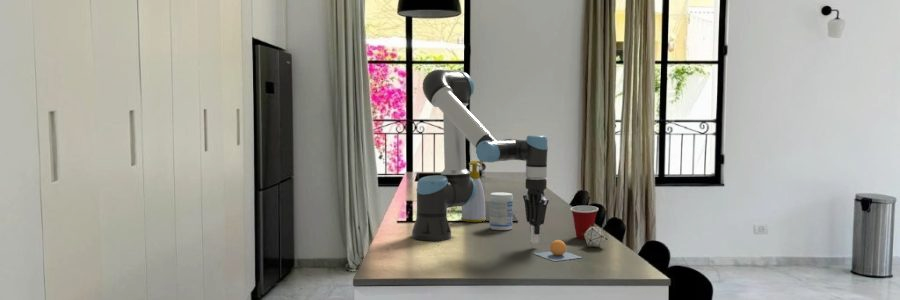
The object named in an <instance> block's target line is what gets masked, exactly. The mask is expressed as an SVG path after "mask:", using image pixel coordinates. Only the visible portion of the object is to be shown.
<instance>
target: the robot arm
mask: <svg viewBox="0 0 900 300" xmlns="http://www.w3.org/2000/svg"><path fill="white" fill-rule="evenodd" d="M474 89H475V85H474V81H473V79H472V78H471V76H470V75H469V74H468V73H467V72H465V71H462V70H461V71H460V70H456V69H455V70H449V69H434V70H431V71H430V72H428V73H427V74H426V75H425V77H424V79H423V80H422V92H423V95H424V97H425V98H426V99H427V101H428V102H429V103H430V104H431V105H432V106H433V107H434V108H437V109H439V110H440V111H441V112H442V113H443V116H442V117H443V121H442V122H443V154H444V155H443V156H444V163H443V164H444V169H443V170H442V171H441V173H440V174H439V175H438V174H437V175H435V174H434V175H427V176H423V177H421V178H419V179H418V181H417V185H416V217H415V218H416V219H415V221H414V224H413V228H412V230H411V238H413V239H414V240H419V241H433V242H434V241H436V242H437V241H445V240H449V239H451V238H452V230H451V228H450V224H449V220H448V209H450V208H454V207H462V206H463V205H466V204H468V203H470V202H471V201H472V200H473V198H474V197H475V194H476V185H475V182H473V179H472V178H471V177H470V171H469V169H467V160H466V159H467V157H466V156H467V155H466V139H467V140H468V142H470V144H471V145H472V146H474V148H475V154H476V157H477V159H478V161H481V162H482V163H494V162H495V163H497V162H505V161H523V162H525V177H526V178H525V189H526V190H527V193H526V194H525V195H523V196H522V198H523V201H524V208H525V219H526V222H527V223H529V225H530V227H529V229H530V240H529V241H530V243H531V244H539V243H540V230H541V227H540V226H541V225H544V224H545V219H546V213H547V207H548V204H549V201H550V200H549V198H546V197H545V190H547V185H548V184H547V181H548V180H547V179H546V178H547V175H548V173H547V172H548V171H547V169H548V167H547V166H548V165H547V164H548V149H549V148H548V137H547V136H546V135H542V134H541V135H540V134H538V135H537V134H529V135H527V136H526V139H525V140H524V139H513V138H504V139H500V140H497V138H496V137H494V135H492V133H490V131H489V130H488V129H487V128H486V127H485V126H484V125H483V124H482V123H481V122H480V120H479V119H478V118H477V117H475V115H474V114H473V113H472V112H471V111H470V110H469V109H468V107H467V106H468V105H469V99H470V98H471V97H472V95H473V94H474Z"/></svg>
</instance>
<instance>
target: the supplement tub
mask: <svg viewBox="0 0 900 300" xmlns="http://www.w3.org/2000/svg"><path fill="white" fill-rule="evenodd" d="M513 205H514V197H513V193H510V192H503V191H502V192H499V191H498V192H497V191H496V192H491V193H490V196H489V228H490V229H491V230H494V231H509V230H510V231H511V229H513V209H514V208H513V207H514V206H513Z"/></svg>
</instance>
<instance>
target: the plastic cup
mask: <svg viewBox="0 0 900 300" xmlns="http://www.w3.org/2000/svg"><path fill="white" fill-rule="evenodd" d="M570 211H571V214H572V217H573V218H572V219H573V225H574V229H575V237H576V238H577V239H579V240H580V239H581V240H585V237H584V235H582V233H583V234H584V233H585V232H586V231H587V230H588V229H589V228H590V226H589V225H591V227H595V223H596V219H597V218H596V217H597V213H598V211H599V207H597V206H593V205H576V206H572V207H570Z"/></svg>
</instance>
